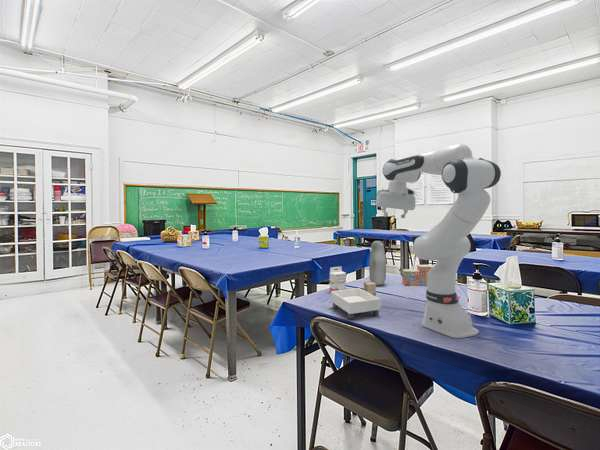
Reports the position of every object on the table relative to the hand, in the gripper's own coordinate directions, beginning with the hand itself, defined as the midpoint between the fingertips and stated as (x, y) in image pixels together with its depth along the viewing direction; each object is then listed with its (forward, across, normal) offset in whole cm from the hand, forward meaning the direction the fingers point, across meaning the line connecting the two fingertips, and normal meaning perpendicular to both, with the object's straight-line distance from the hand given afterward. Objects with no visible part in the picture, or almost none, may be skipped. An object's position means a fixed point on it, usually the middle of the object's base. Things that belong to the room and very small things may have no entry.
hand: (394, 217), depth 169 cm
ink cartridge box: (+46, -18, +27) cm, 56 cm away
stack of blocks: (+38, +36, +32) cm, 62 cm away
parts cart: (+48, -18, -7) cm, 52 cm away
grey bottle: (+41, +10, +37) cm, 56 cm away
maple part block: (+45, -6, +7) cm, 46 cm away
